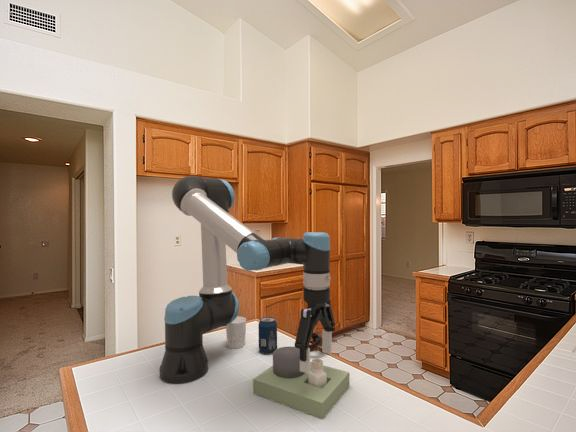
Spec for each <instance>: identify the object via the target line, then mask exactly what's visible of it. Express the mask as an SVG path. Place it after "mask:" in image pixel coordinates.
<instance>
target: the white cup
mask: <svg viewBox="0 0 576 432" xmlns="http://www.w3.org/2000/svg"><path fill="white" fill-rule="evenodd" d="M246 330H247V318H246V317H243V316H237V317H236V319H235V320H234V321H233V322H231V323H229V324H227V325H226V326H225V331H226V332H225V333H226V340H227V343H226V344H227V347H228V348H229V349H240V348H243V347H244V346H245V343H246Z"/></svg>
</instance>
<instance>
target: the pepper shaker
mask: <svg viewBox="0 0 576 432" xmlns="http://www.w3.org/2000/svg"><path fill="white" fill-rule="evenodd" d="M311 362H312V371H310V373H309V374H308V384H310V385H313V386H317V387H320V388H323V387H324V386H325V385H326V384H327V375H326V373H325V372H324V371H323V365H324V361H323V359H321V358H313V359H312V360H311Z"/></svg>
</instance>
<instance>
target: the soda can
mask: <svg viewBox="0 0 576 432" xmlns="http://www.w3.org/2000/svg"><path fill="white" fill-rule="evenodd" d="M257 326H258V350H259V351H260V353H261V354H264V355H271V354H272V355H273V352H274V351H275V350H276V349H278V323H277V320H276V318H275V317H273V316H263V317H261V318H260V319H259V322H258V325H257Z"/></svg>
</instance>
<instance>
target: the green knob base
mask: <svg viewBox="0 0 576 432" xmlns="http://www.w3.org/2000/svg"><path fill="white" fill-rule="evenodd" d="M310 371H312V361H310ZM323 371H324V372H325V373H326V375H327V384H326V385H325V386H324V387H323V388H320V387H317V386H313V385H310V384H308V374H307V373H304V372H301V371H300V349H299V348H295V346H281V347H277V349H276V350H275V351H274V352H273V354H272V365H271V366H269V368H267V369H265V370H264V371H262V372H261V373H260V374H258V375H257V376H255V377H254V378H252V394H255V395H257V396H260V397H262V398H265V399H268V400H270V401H273V402H276V403H279V404H282V405H284V406H287V407H289V408H292V409H294V410H298V411H300V412H303V413H306V414H308V415H310V416H314V417H317V418H319V419H322V420H324V418H325V417H326V415H328V413H329V412H330V410H331V409H332V408H333V407H334V406H335V404H336V403H337V402H338V401H339V399H340V398H341V397H342V396H343V395H344V393H345V392H346V391H347V390H348V388H349V387H350V372H349V371H346V370H341V369H338V368H334V367H331V366H326V365H324V364H323Z"/></svg>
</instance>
